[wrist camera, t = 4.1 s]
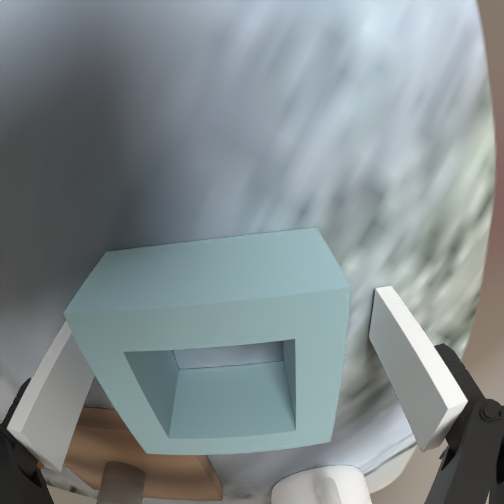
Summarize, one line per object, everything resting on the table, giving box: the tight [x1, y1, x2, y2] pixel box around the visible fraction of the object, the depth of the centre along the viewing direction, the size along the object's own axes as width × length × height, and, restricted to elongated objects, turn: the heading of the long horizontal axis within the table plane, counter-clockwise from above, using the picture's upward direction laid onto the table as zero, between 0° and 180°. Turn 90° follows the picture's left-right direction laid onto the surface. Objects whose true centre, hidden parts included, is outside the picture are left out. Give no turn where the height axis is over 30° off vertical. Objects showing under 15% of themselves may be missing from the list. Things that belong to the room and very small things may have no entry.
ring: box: [63, 227, 351, 455], centre depth 11 cm, size 8×8×4 cm
